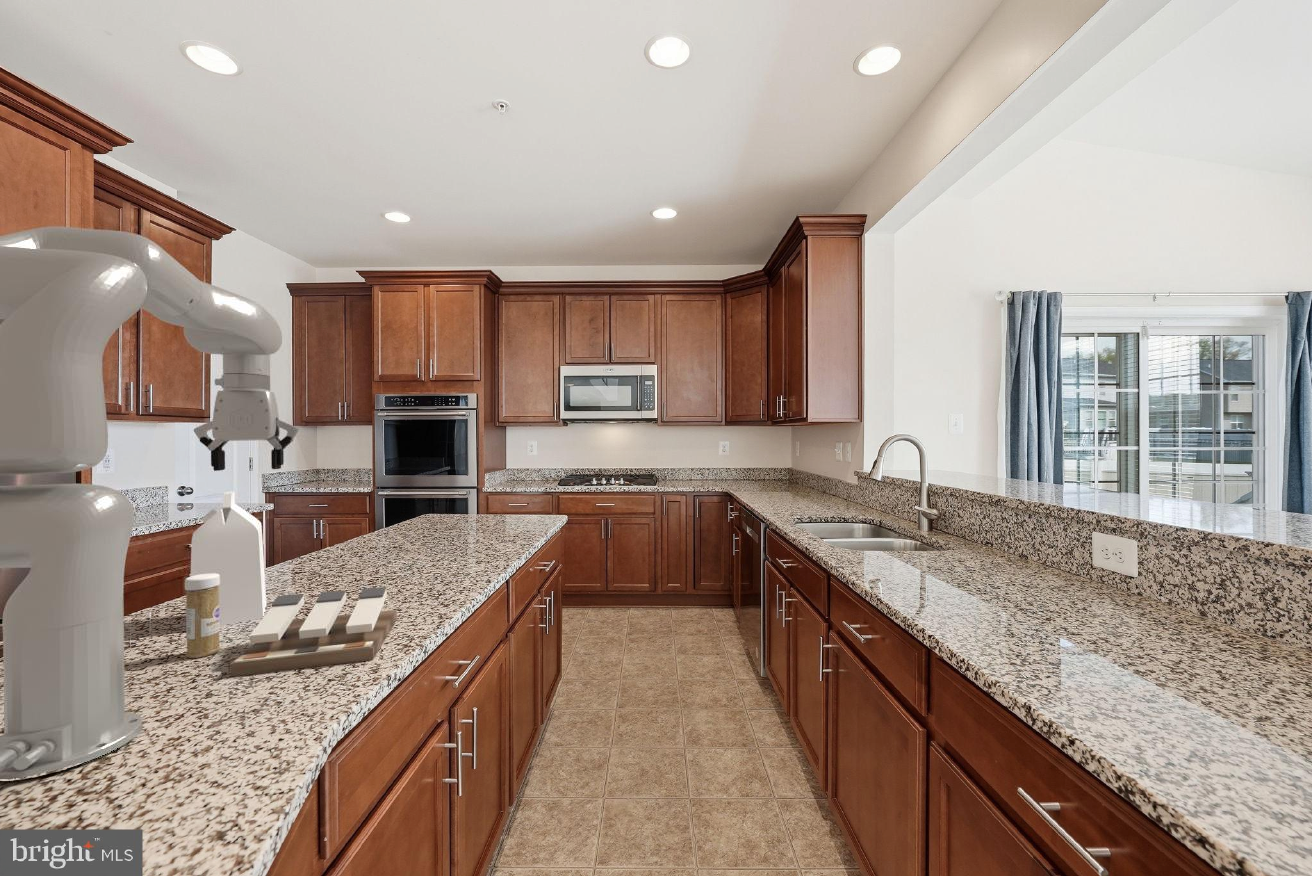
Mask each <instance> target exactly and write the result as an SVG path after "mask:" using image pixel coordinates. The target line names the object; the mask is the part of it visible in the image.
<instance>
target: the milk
mask: <svg viewBox="0 0 1312 876" xmlns="http://www.w3.org/2000/svg"><path fill="white" fill-rule="evenodd" d="M235 494H236V493H235V491H226V492H224V493H223V494H222V505H221V508H220V509H219V510H215V508H212V509H210V510H209V512H207V513H206V514H205V515H204V516H203V517H202V518H201V519H200V520H201V521H202V522H204V523H202V524H201V525H200V526H199V527H198V528H197V529H196V530H195V531H194V532H192V537H191V547H190V549H191V551H190V552H191V553H190V577H191V576H195V575H200V574H209V573H216V574H219V575H220V584H219V588H218V590H219V591H218V592H219V618H220V627H223V626H222V625H226V624H232V623H238V624H240V623H239V622H242V621H249V620H252V619H259V618H263V616H265V614H264V612H265V613H266V609H265V607H266V608H267V593H266V590H267V588H266V576H265V559H264V557H265V555H264V541H263V540H264V539H263V526H262V522H261V521H260V520H259V519H258V518H256V517H255V516H254V515H252V514H251V513H250V512H248V511H246V510H245V509H244V508H242V507H240V506H239V505H238V504H236V497H235V496H236V495H235ZM232 625H233V624H232ZM226 626H227V625H226Z"/></svg>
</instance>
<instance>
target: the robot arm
mask: <svg viewBox="0 0 1312 876" xmlns="http://www.w3.org/2000/svg"><path fill="white" fill-rule="evenodd" d="M140 309H143V310H145V312H148V313H149V314H151V315H152V316H154V317H155V318H157V319H158V320H161V321H162V322H165V323H167V324H170V325H174V326H178V327H183V335H184V337H185V340H186V341H187V343H188V344H189V345H190V346H191V347H192V348H194V350H196V351H199V352H200V353H204V354H207V355H208V354H209V355H210V354H211V355H222V374H221V377H220V378H215V379H214V385H215V386H220V387H221V389H222V390H217V392H216V393H217V394H216V396H215V401H214V406H213V412H212V413H213V414H212V420H211V421H209V422H206V423H204V424H202V425H199V426H196V427H195V428H194V429H193V432H194V434H195V435H196V437H197V438H198V439H199V442H200V443H201V444H202V445H204V446H205V447H206V448H207V450H208V451H210V465H211V467H213V471H214V472H217V471H224V470H225V469H226V451H225V450H223V448H224V447H225V446H226V444H228V443H229V442H231V441H235V442H238V441H241V442H242V441H246V442H247V441H250V442H251V441H267V442H268V443H269V444H270V445H271V447H273V449H272V450H270V451H271V455H270V457H271V469H272V470H280V469H281V468H282V466H284V461H285V460H284V457H285V456H284V450H285V449H286V448H287V447H288V446H289V445H290V444H291V443H292V442H293V441H294V439H295V438H296V435H297V434H298V432H299V431H300V430H299V427H296V426H294V425H292V424H289V423H287V422H285V421H282V420H280V418H279V417H280V415H279V409H278V404H277V400H276V398H277V397H276V395H275V392H273V391H271V355H273V354H276V353H277V352H278V351H279V349H280V348H281V347H282V343H283V334H282V330H281V327H280V325H279V323H278V322H277V320H276V319H275V318H274V317H273V316H272V314H271V313H269V311H267V310H266V309H265V308H264V307H263V306H262V305H260V303H257V302H256V301H253V300H251V299H250V298H247V297H245V296H242V295H240V294H237V293H235V292H231V291H229V290H226V289H224V288H221V287H219V286H216V285H213V284H210V283H208V282H204V281H202V280H200V279H198V278H197V277H196V275H194V274H193V273H192V272H190V270H188V269H187V268H185V266H184V265H182V264H181V263H179V261H177V260H176V258H174V257H173V256H171V254H169V253H168V252H166V250H164V248H162V247H161V246H160V245H158V244H157V243H156V242H154V241H152V240H151V239H150V238H148V237H145V236H143V235H141V234H137V233H134V232H133V233H132V232H128V231H122V230H111V229H98V228H97V229H96V228H95V229H94V228H83V227H82V228H81V227H71V226H57V225H56V226H55V225H54V226H44V227H43V226H42V227H37V228H32V229H26V230H20V231H17V232H16V231H15V232H13V233H9V234H8V233H7V234H5V235H4V234H3V235H0V320H3V321H2V322H1V323H0V476H18V475H19V476H21V475H23V476H24V475H25V476H26V475H50V474H66V473H76V472H81V471H84V470H85V471H87V470H88V469H92V468H93V467H96V466H97V465H99V464H100V463H101V462H102V461H103V460H104V458H105V456H106V455H107V451H108V446H109V430H108V420H107V410H106V409H107V407H106V398H105V389H104V387H105V386H104V377H103V357H104V354H105V353H104V352H105V349H106V346H107V345H108V342H109V340H110V339H111V337H112V336H113V335H114V334H115V332H116V331H117V330H118V329H119V327H121V326H122V325H123V324H124V323H125V322H127V321H128V320H129V319H131V317H133V316H134V315H135V314H137V312H139V310H140ZM281 429H282V430H285V431H287V433H286V436H284V437H283V438H282V439H281V438H279V437H280V434H281V432H280V431H281ZM209 431H211V433H212V437H213V439H212V438H211V437H210V436H209V435H208V432H209ZM134 524H135V512H134V507H133V504H132V502H131V501H130V499H129V497H127V496H126V495H125V494H123V493H122V492H121V491H119V490H116V489H115V488H111V487H108V486H104V485H100V484H91V483H51V484H50V483H49V484H42V483H41V484H26V485H0V569H15V568H16V569H17V568H18V569H19V568H23V569H24V568H25V569H27V568H28V569H29V568H30V570H29V572H28V573H27V575H26V577H25V578H24V579H23V580H22V582H21V583H20V584H19V585H18V586H17V588H16V589H15V590H14V591H13V593H12V594H11V595H10V596H9V599H8V600H7V601H6V604H5V606H4V609H3V613H2V643H3V644H2V647H3V648H2V650H3V652H2V657H3V659H2V663H3V664H2V665H3V727H4V728H3V731H4V732H3V733H4V734H3V735H1V736H0V779H13V778H14V779H16V778H24V777H26V776H33V775H35V774H41V773H44V772H50V771H54V770H56V769H61V768H64V767H68V766H70V765H75V764H77V763H82V762H87V761H88V760H92V759H94V758H97V757H99V756H101V757H103V756H102V755H104V756H105V754H106V755H108V754H110V753H112V752H114V751H116V750H117V748H118V749H119V748H121V747H123V746H124V745H126V744H127V743H129V742H131V741H132V740H133V739H134V738H135V737H137V735H138V734H140V732H141V731H142V729H143V718H142V716H141V715H140V714H137V713H135V712H130V711H126V710H125V709H126V708H125V707H126V703H125V701H126V699H125V698H126V697H125V696H126V695H125V692H126V691H125V688H126V687H125V619H124V617H125V614H124V611H125V609H124V587H125V586H124V583H125V582H124V581H125V580H124V579H125V566H126V560H127V559H126V558H127V554H128V553H127V552H128V549H129V545H130V541H131V536H132V532H133V529H134ZM113 750H114V751H113ZM111 751H112V752H111ZM107 753H108V754H107ZM99 758H100V757H99ZM97 759H98V758H97ZM92 761H93V760H92ZM87 763H88V762H87Z"/></svg>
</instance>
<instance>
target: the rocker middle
mask: <svg viewBox="0 0 1312 876" xmlns="http://www.w3.org/2000/svg"><path fill="white" fill-rule="evenodd" d="M346 601H347V591H346V590H334V591H322V592H321V593H320V594H319V595H318V597H317V599H316V601H315V604H314V606H313V608H312V609H311V611H310V612H309V614H308V616H307V617H306V618H307V619H306V618H305V619H306V620H305V622H304V623H303V625H302V626H301V628H300V630H299V637H300V639H302V638H312V637H322V636H327V635H328V633H329V631H330V629H331V627H332V625H333V623H334V621H335V620H336V618H337V616H338V615H340V613H341V610H342V609H343V606H344V604H345V602H346Z"/></svg>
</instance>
